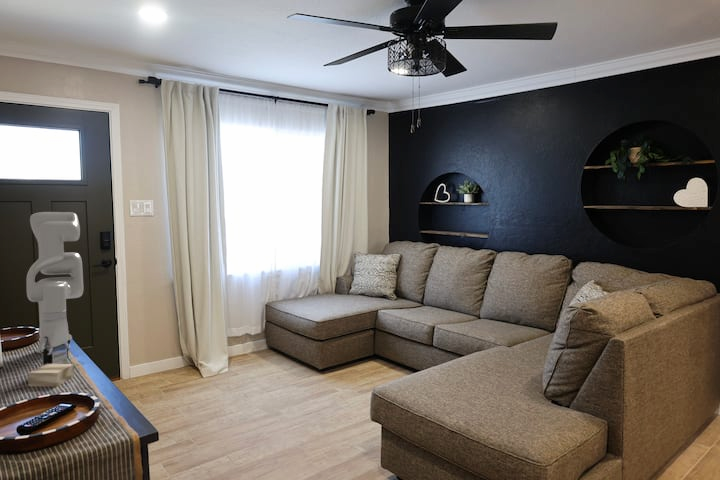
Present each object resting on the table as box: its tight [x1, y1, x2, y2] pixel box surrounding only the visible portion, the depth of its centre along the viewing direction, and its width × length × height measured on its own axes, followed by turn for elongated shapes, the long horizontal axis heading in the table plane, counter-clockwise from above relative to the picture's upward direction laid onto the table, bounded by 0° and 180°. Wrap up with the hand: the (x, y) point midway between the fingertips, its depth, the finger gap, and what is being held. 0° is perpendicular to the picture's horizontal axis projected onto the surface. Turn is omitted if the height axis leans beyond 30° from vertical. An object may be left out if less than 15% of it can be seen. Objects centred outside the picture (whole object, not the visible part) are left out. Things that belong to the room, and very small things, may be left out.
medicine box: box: [41, 345, 69, 366], centre depth 182 cm, size 8×4×9 cm, turn 175°
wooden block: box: [27, 363, 75, 388], centre depth 171 cm, size 10×10×5 cm
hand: (56, 361), depth 182 cm, fingers closed on medicine box, 8 cm apart
